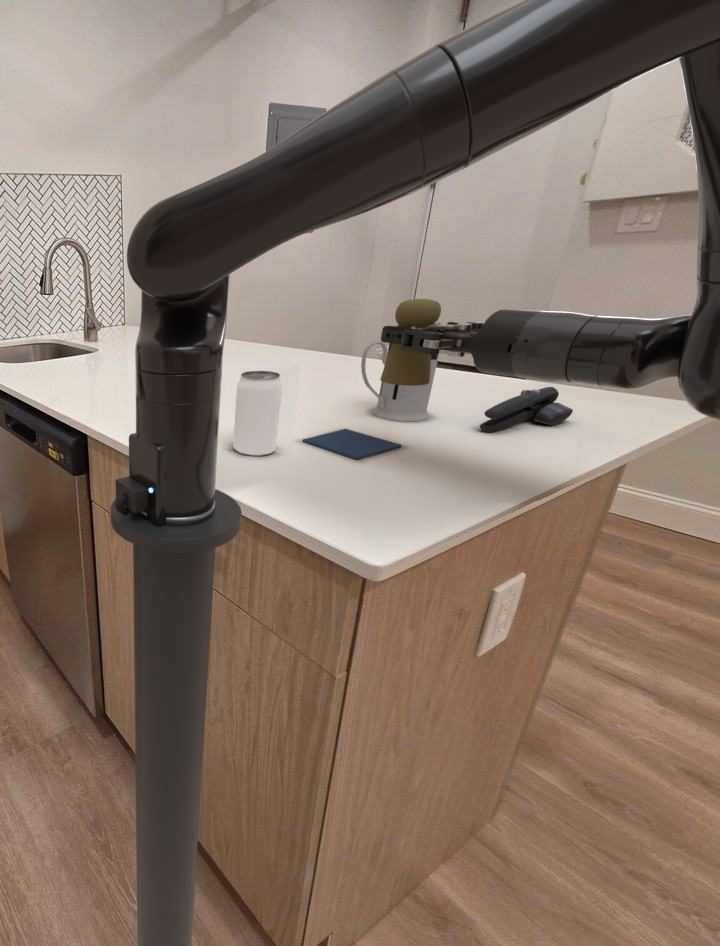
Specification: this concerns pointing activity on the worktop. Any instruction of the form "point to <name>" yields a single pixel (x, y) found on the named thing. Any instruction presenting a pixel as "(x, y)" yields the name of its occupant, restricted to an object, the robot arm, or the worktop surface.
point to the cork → (407, 363)
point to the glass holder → (400, 394)
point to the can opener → (527, 409)
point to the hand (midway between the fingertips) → (394, 332)
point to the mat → (351, 443)
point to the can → (257, 413)
